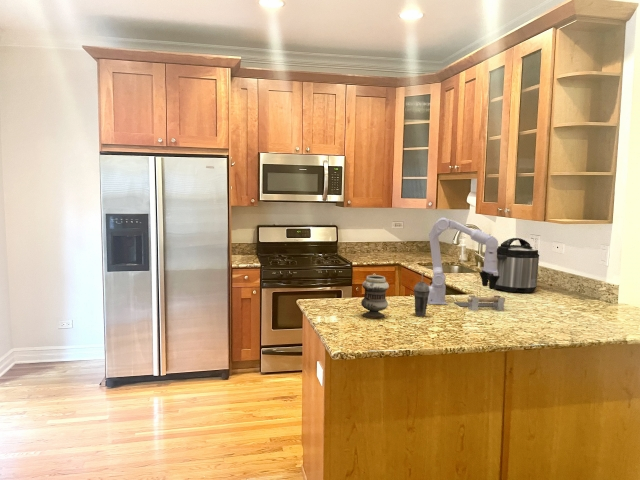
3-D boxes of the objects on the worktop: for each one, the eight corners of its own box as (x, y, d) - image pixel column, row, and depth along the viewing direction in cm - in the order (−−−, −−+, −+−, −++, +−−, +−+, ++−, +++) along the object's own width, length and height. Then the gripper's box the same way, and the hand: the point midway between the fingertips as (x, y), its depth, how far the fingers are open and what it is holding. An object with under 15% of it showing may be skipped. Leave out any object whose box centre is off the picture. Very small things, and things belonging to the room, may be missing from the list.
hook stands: (471, 310, 227) (472, 297, 227) (467, 308, 232) (468, 295, 232) (503, 311, 229) (504, 298, 228) (498, 308, 234) (499, 295, 233)
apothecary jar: (370, 320, 202) (372, 279, 201) (355, 313, 213) (357, 274, 211) (392, 318, 208) (394, 278, 206) (377, 311, 219) (379, 273, 217)
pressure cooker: (526, 285, 300) (530, 236, 297) (547, 295, 272) (551, 241, 269) (479, 284, 300) (483, 235, 297) (495, 293, 272) (499, 239, 269)
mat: (460, 306, 234) (460, 305, 234) (454, 303, 242) (454, 302, 242) (502, 307, 236) (502, 306, 236) (495, 303, 244) (495, 302, 244)
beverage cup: (429, 314, 217) (431, 272, 215) (427, 318, 210) (430, 274, 208) (413, 312, 219) (415, 270, 217) (411, 316, 212) (413, 272, 210)
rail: (469, 302, 228) (469, 297, 228) (467, 301, 231) (467, 296, 230) (504, 302, 230) (505, 298, 229) (502, 301, 232) (502, 297, 232)
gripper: (505, 263, 226) (502, 290, 227) (491, 258, 240) (489, 284, 241) (491, 262, 225) (488, 290, 226) (478, 258, 239) (476, 284, 241)
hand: (488, 287), depth 234 cm, fingers open, 7 cm apart
